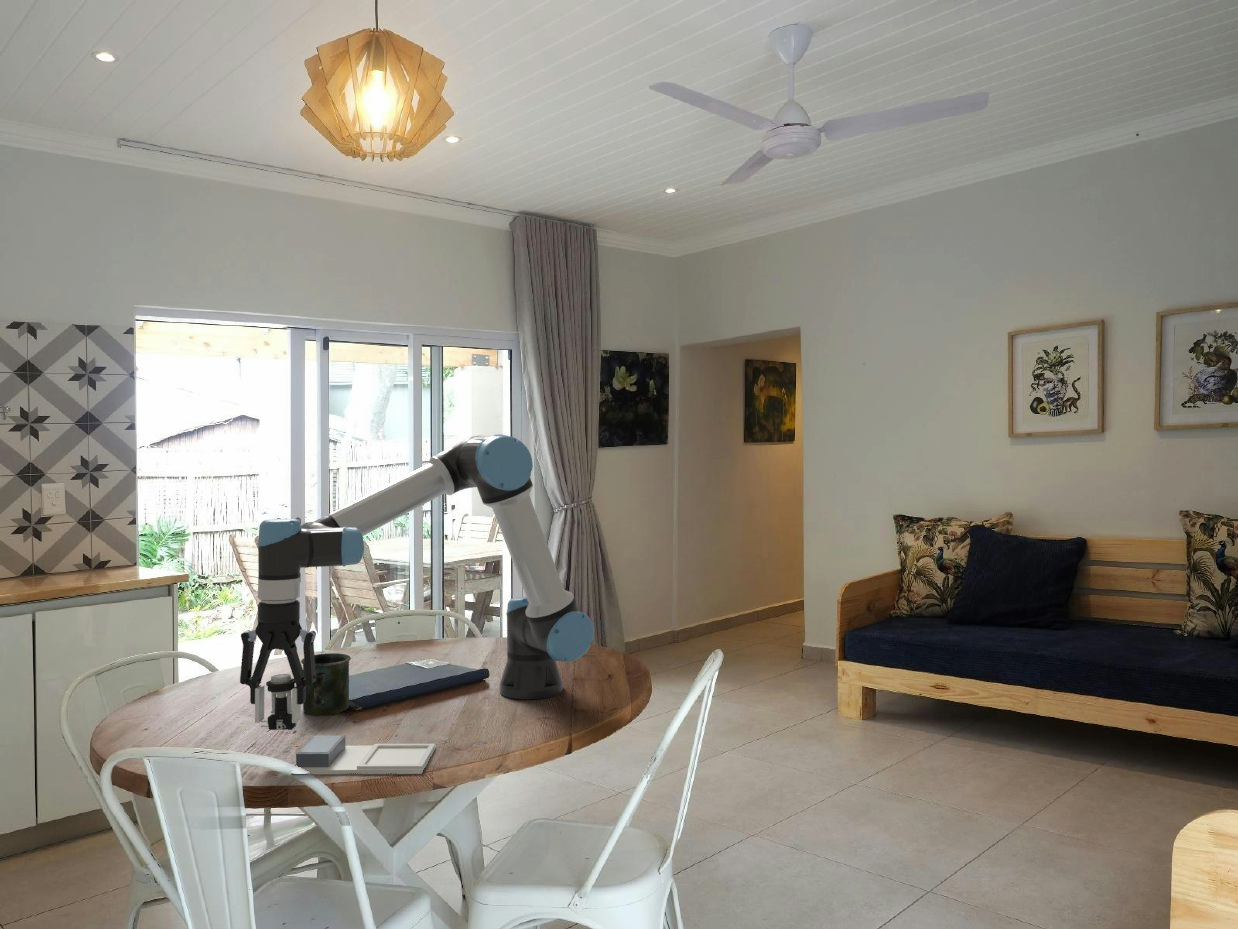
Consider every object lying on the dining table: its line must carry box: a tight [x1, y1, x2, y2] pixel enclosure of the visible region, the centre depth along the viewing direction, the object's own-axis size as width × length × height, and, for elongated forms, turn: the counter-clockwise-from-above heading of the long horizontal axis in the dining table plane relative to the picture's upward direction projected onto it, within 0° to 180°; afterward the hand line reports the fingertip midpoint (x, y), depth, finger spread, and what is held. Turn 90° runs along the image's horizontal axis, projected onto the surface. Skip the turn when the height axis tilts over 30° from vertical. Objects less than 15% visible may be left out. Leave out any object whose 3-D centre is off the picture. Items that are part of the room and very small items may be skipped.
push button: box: [260, 673, 297, 731], centre depth 174 cm, size 7×5×10 cm
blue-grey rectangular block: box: [295, 734, 346, 767], centre depth 175 cm, size 6×11×3 cm, turn 1°
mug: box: [300, 652, 352, 717], centre depth 208 cm, size 11×15×12 cm
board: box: [301, 743, 437, 775], centre depth 175 cm, size 24×14×1 cm, turn 91°
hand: (277, 720), depth 175 cm, fingers closed on push button, 6 cm apart
